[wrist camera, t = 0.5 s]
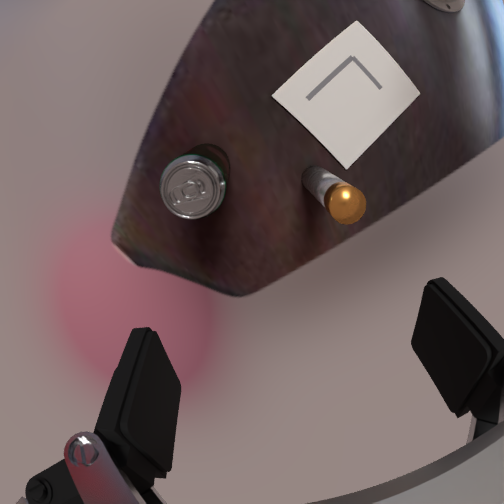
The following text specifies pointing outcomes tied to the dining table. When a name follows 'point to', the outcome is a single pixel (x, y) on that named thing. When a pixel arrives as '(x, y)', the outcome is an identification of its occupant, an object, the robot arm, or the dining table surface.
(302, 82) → the paper
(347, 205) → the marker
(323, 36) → the dining table surface
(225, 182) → the soda can
